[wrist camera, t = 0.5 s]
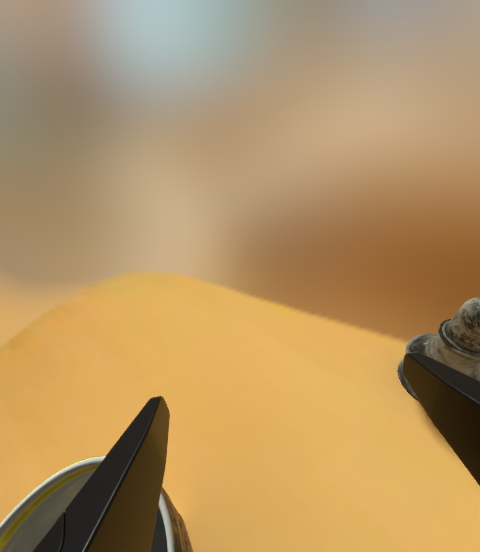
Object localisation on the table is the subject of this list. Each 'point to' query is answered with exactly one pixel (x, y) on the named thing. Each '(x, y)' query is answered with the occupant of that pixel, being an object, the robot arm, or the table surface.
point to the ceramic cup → (57, 496)
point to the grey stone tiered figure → (452, 343)
